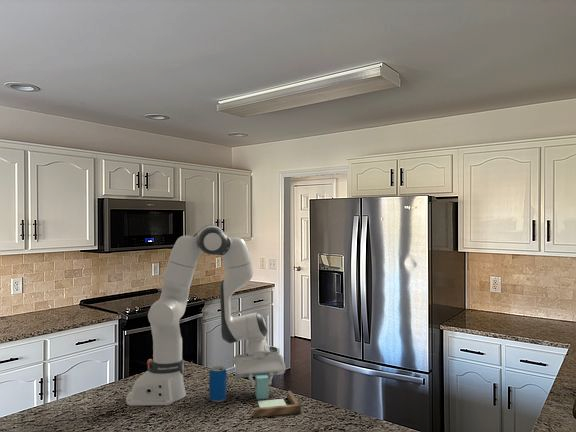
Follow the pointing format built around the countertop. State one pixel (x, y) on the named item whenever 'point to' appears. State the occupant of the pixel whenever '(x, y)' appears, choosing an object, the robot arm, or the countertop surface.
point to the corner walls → (279, 408)
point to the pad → (271, 403)
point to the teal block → (262, 386)
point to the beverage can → (217, 384)
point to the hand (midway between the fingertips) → (262, 385)
